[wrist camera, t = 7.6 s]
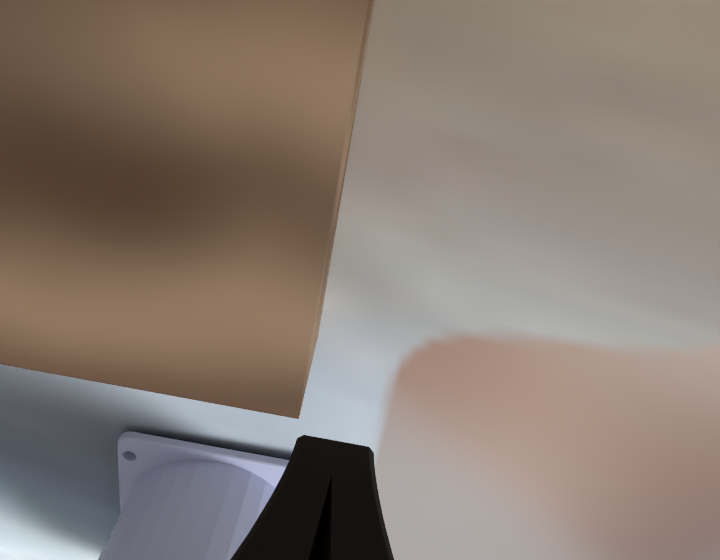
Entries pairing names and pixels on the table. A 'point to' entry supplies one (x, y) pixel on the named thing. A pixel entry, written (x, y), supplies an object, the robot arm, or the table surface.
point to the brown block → (174, 189)
